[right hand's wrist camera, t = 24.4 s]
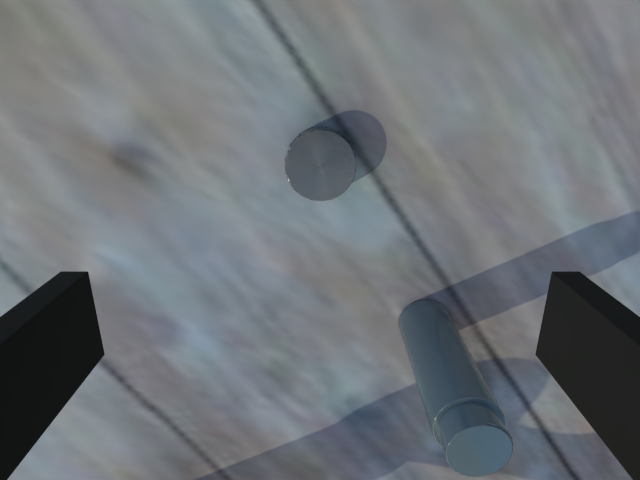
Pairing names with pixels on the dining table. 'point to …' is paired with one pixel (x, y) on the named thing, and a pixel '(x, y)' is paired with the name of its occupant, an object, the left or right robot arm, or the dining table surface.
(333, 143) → the lid
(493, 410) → the jar
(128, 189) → the dining table surface
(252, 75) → the dining table surface
